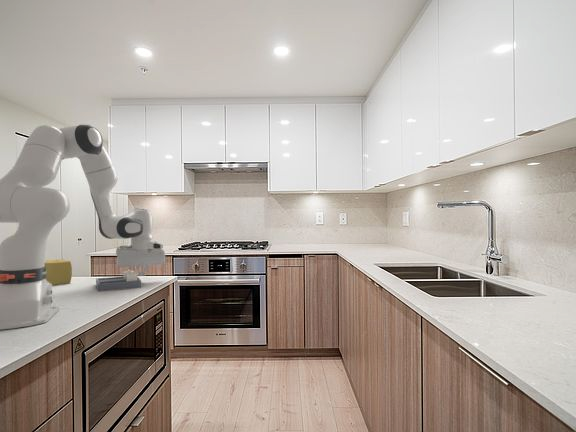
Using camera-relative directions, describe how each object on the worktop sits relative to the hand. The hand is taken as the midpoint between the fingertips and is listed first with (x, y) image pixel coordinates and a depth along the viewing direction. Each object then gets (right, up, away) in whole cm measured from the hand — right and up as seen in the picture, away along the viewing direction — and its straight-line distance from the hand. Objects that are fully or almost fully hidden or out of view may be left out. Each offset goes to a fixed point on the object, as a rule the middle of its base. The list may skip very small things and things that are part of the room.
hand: (141, 275), depth 157 cm
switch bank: (-6, -3, -8) cm, 11 cm away
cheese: (-36, -3, -4) cm, 37 cm away
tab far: (-4, -1, -2) cm, 5 cm away
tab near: (0, -1, -9) cm, 9 cm away
